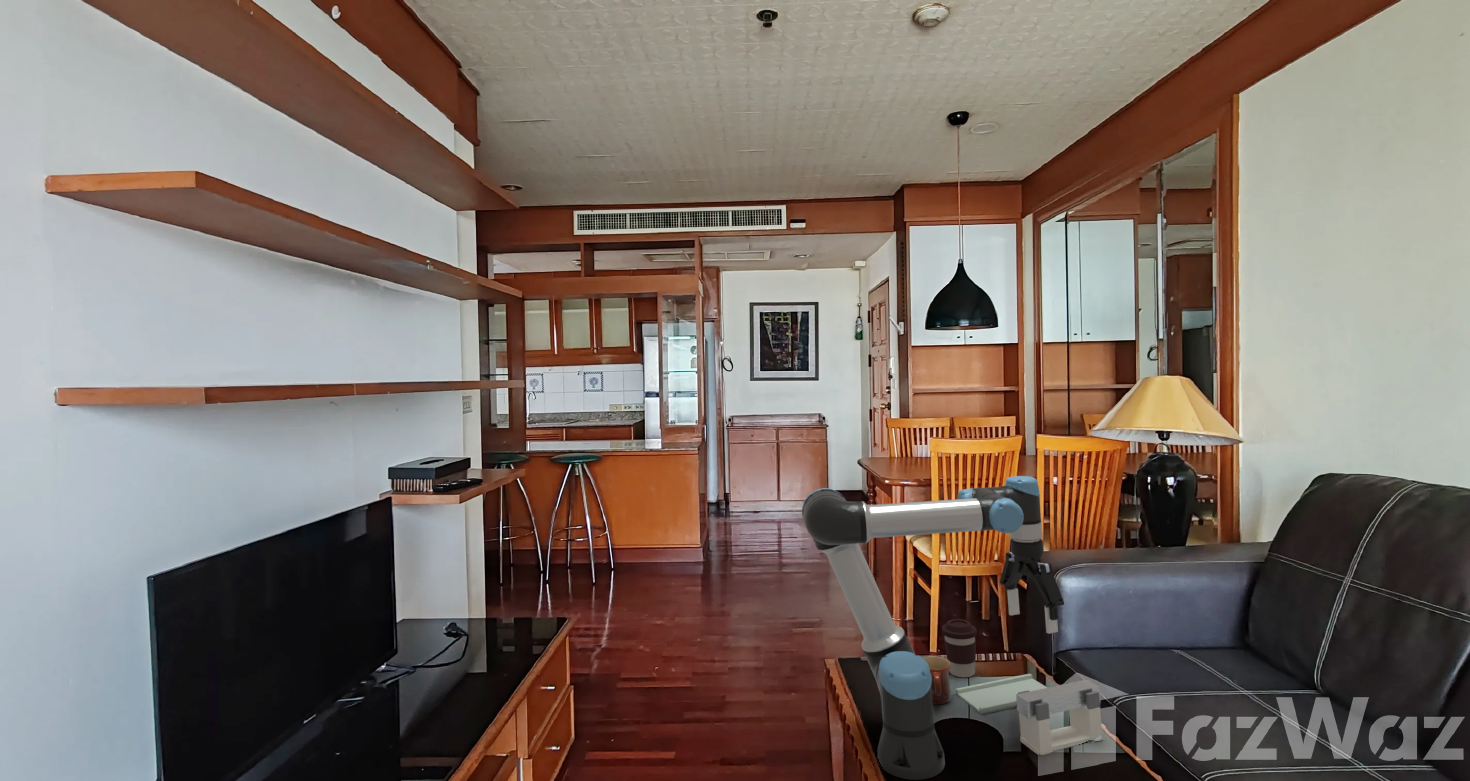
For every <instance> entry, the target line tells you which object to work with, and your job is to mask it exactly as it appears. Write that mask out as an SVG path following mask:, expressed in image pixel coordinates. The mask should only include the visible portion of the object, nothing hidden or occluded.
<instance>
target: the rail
mask: <svg viewBox="0 0 1470 781" xmlns="http://www.w3.org/2000/svg"><path fill="white" fill-rule="evenodd" d="M1100 689H1101V688H1100V686H1099V685H1097V684H1096V683H1094V682H1092V681H1091V680H1089V679H1083V680H1078V681H1077V682H1073V683H1068V684H1067V683H1065V684H1063V683H1062V684H1059V685H1054V686H1051V687H1050V686H1049V687H1047V688H1044V689H1040V690H1035V691H1030V692H1025V693H1021V694H1016V700H1017V707H1016V711H1017V713H1018V714H1019V713H1021V714H1022V715H1023V716H1025V717H1026V718H1028V719H1031V718H1036V711H1035V704H1039V703H1044V702H1047V703H1048V704H1049V715H1054V714H1057V713H1062V712H1066V711H1069V710H1072V709H1076V708H1081V707H1085V706H1087V702H1086V693H1090V692H1094V691H1097V692H1099V699H1100V700H1101V690H1100Z"/></svg>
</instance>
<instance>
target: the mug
mask: <svg viewBox="0 0 1470 781" xmlns="http://www.w3.org/2000/svg"><path fill="white" fill-rule="evenodd" d="M922 658H923V659H924V660H925V661H926V662H927V664H928V666H929V669H930V673H931V678H932V684H931V688H932V702H933V705H936V706H937V705H944V704H945V705H946V704H947V703H948V702H949V701H950V699H951V684H950V671H949V670H950V666H951V663H950V661H949V660H948V659H947V658H945V657H941V656H936V655H935V656H934V655H929V656H924V657H922Z"/></svg>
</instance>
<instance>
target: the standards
mask: <svg viewBox="0 0 1470 781" xmlns="http://www.w3.org/2000/svg"><path fill="white" fill-rule="evenodd" d="M1077 681H1079V680H1078V679H1076V680H1072V681H1066V684H1068V683H1073V682H1077ZM1025 692H1030V691H1023V692H1018V694H1021V693H1025ZM1086 702H1087V706H1085V707H1081V708H1076V709H1072V710H1068V714H1069V715H1068V716H1069V726H1068V725H1067V726H1063V727H1059V728H1055V729H1054V728H1053V729H1051V722H1050V721H1051V720H1050V714H1049V704H1048V703H1047V702H1044V703H1039V704H1035V711H1036V718H1031V719H1028V718H1026V717H1025V716H1023V715H1022V714H1021V713H1019V712H1018V719H1019V730H1020V731H1019V732H1020V733H1019V734H1020V738H1019V740H1020V742H1021V744H1023V745H1025V746H1026V747H1027V748H1028V749H1030V750H1031V751H1032V752H1034V753H1035V754H1036V755H1040V756H1044V755H1048V754H1052V753H1053V752H1054V751H1058V750H1059V751H1060V750H1063V749H1067V748H1072V747H1075V746H1080V745H1083V744H1082V743H1084V742H1086V741H1088V740H1094V739H1096V738H1097V737H1099V736H1101V735H1102V736H1103V731H1102V715H1101V714H1102V712H1101V698H1100V699H1099V692H1097V691H1094V692H1090V693H1086ZM1079 744H1080V745H1079ZM1084 744H1085V743H1084Z"/></svg>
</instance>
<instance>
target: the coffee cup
mask: <svg viewBox="0 0 1470 781" xmlns="http://www.w3.org/2000/svg"><path fill="white" fill-rule="evenodd" d="M941 633H942V635H943V636H944V639H943V640H944V647H945V654H946V659H947V660H949V661H950V663H951V666H950V670H949V674H951V675H952V676H955V677H956V678H957V677H958V678H971V677H973V676H974V675H975V673H976V660H977V658H976V656H977V651H976V650H977V649H976V648H977V646H976V645H977V643H976V642H977V641H976V636H977V635H978V630H977V627H976V626H975V625H972V623H971V622H970V621H969V620H967V619H962V618H953V619H949V620H947V621H946V623H944V624H942V626H941Z"/></svg>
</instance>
